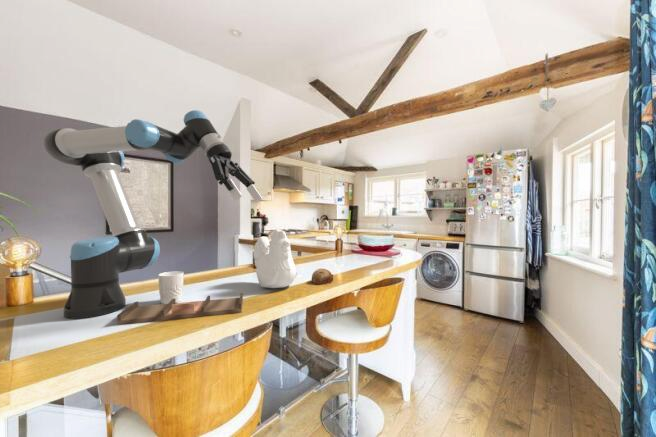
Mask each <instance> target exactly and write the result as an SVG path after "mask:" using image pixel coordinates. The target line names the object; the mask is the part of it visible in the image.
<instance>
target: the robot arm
mask: <svg viewBox="0 0 656 437" xmlns="http://www.w3.org/2000/svg"><path fill="white" fill-rule="evenodd" d="M183 123H184V127H183V128H182V129H181V130H180V131H179V132H178V133H175V132H173V131H171V130H168V129H166V128H163V127H160V126H158V125H156V124H153V123H151V122H149V121H145V120H142V119H137V118H136V119H132V120H131V121H130V122H128V123H127V124H126V125H123V126H112V127H102V128H101V127H100V128H92V129H82V130H81V129H80V130H77V129H74V128H69V127H65V128H57V129H53V130H51V131H49V132H48V133H47V134H46V135H45V136H44V138H43V146H44V149H45V151H46V153H47V154H48V155H49V156H50V157H52V158H53V159H54V160H56V161H58V162H60V163H63V164H67V165H71V166H72V165H73V166H77V167H81V170H82V173H83V175H85V177H88V178H90V179H91V182H92V185H93V187H94V189H95V193H96V194H97V198H98V199H99V200H98V201H99V202H100V206H101V208H102V211H103V213H104V215H105V219H106V221H107V224H108V226H109V230H110V232H111V236H101V237H100V236H99V237H93V238H87V239H83V240H79V241H76V242H74V243H73V244H72V245H71V247H70V255H69V259H70V279H71V280H70V283H71V284H70V285H71V287H70V288H71V290H70V293H69V295H68V297H67V300H66V302H65V305H64V307H63V317H64V318H65V319H86V318H93V317H99V316H103V315H107V314H110V313H114V312H116V311H119V310H121V309H123V308H125V307H126V305H127V304H126V301H127V300H126V297H125V294H124V292H123V290H122V287H121V285H120V276H119V275H120V274H122V273H126V272H130V271H135V270H142V269H144V268H147V267H150V266H153V264H155V263H156V262H157V260H158V259H159V256H160V253H161V248H160V247H161V246H160V243H159V242H158V240H157V239H156V238H154V237H152V236H149V235H148V233H147V231H146V230H147V229H144V228H142V227H140V225H139V223H138V220H137V218H136V215H135V212H134V210H133V207H132V205H131V201H130V199H129V197H128V194H127V191H126V189H125V186H124V184H123V180H122V178H121V176H120V173H121V172H122V170H123V169H122V168H123V167H124V164H125V162H124V161H125V154H124V152H132V151H146V150H147V151H149V150H151V151H155V152H159V153H162V154H163V156H164V157H165V158H166V159H167V160H168V161H170V162H172V164H176V165H180V164H182V163H184V161H186V160H187V159H189V158H190V157H191V156H192V154H194V152H196V151H197V150H198V148H201V150H202V151H203V153H204V155H205V156H206V158H207V159H208V161H209V163H210V165H211V168H212V171H213V174H214V178H215V180H216V181H217V182H218V184H219V185H221V186H222V185H223V186H225V188H226V190H227V191H228V193H229V195H231V197H232V199H233V200H234V201H235V202H236V201H238V200H239V199H241V197H243V194H242V192H241V191H240V189H239V188H238V187H237V186H236V184H235V182H234V181H233V179H232V178H230V176H231V177H235V178H236V179H237V180H238V181H239V182H240V183H241V184H243V185H244V186H245V187H246V190H247V192H248V193H249V194H250V196H251V198H252V199H253V201H254V202H255V203H256V204H257V203H259V202H260V201H262V200H263V197H262V195H261V194H260V193H259V191H258V190H257V189H256V186H255V183H256V182H255V181H254V180H253V179H252V178H251V177H250V176H249V175H248V174H247V173H246V171H244V170H243V168H241V166H240V165H239V163H238V162H234V161H232V155H233V154H232V152H231V150H230V148H229V147H228V145H227V144H226V143H225V142H224V140H223V139H222V135H221V134H219V133H218V132H217V129H216V128H215V126H214V125H213V124H212V122H211V121H210V119H209V118H208V117H207V116H206V115H205V114H204V112H203V111H200V110H197V109H195V110H194V109H193V110H191V111H188V112H187V113H185V115H184V118H183Z"/></svg>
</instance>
